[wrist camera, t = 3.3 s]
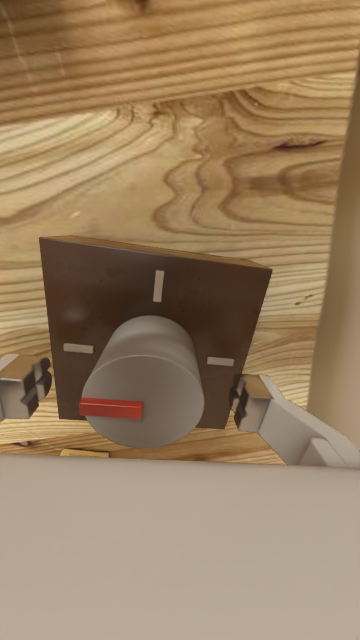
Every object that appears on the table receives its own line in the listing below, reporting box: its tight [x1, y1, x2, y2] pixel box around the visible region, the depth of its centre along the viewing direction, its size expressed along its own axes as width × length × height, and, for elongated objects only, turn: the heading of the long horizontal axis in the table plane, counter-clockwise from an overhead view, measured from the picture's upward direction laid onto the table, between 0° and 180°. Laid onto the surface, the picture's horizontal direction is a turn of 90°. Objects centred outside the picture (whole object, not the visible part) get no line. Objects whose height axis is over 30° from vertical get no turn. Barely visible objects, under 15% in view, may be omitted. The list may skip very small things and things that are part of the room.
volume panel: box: [39, 235, 273, 429], centre depth 12 cm, size 10×10×3 cm
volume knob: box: [79, 315, 204, 448], centre depth 9 cm, size 4×4×4 cm
